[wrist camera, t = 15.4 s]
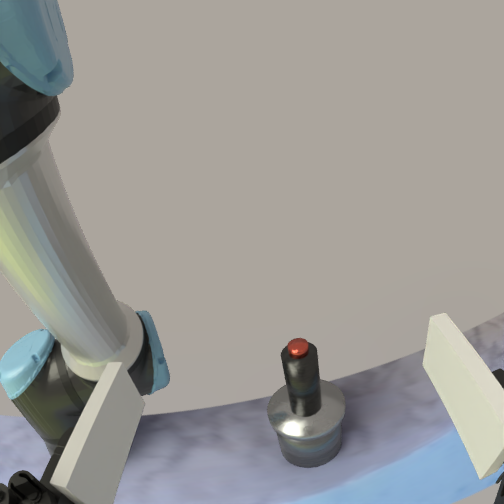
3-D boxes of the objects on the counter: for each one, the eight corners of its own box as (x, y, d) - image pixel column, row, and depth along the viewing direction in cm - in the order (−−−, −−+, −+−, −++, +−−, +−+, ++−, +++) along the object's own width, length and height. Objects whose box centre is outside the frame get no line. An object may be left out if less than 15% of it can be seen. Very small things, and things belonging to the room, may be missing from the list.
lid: (254, 427, 37) (234, 363, 32) (289, 378, 44) (278, 313, 40) (327, 449, 31) (323, 385, 27) (355, 391, 39) (355, 323, 35)
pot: (269, 457, 40) (260, 425, 37) (297, 415, 47) (291, 380, 44) (326, 474, 35) (325, 444, 32) (349, 427, 42) (350, 393, 39)
